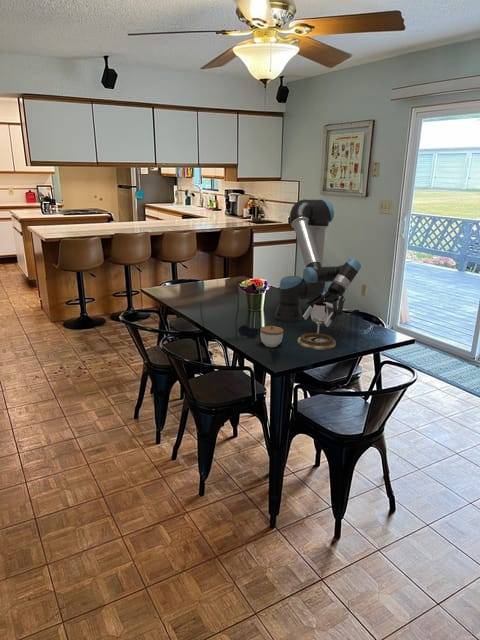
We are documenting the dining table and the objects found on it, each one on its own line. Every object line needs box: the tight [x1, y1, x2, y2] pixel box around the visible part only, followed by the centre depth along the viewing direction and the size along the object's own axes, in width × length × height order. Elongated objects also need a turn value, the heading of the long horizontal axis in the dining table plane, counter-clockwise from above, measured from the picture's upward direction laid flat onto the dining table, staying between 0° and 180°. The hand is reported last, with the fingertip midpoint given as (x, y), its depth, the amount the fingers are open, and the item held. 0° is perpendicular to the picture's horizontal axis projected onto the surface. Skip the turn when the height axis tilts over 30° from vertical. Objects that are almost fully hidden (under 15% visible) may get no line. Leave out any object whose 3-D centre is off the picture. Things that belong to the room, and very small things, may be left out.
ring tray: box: [297, 332, 337, 351], centre depth 227 cm, size 18×18×3 cm
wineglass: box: [310, 302, 329, 342], centre depth 224 cm, size 8×8×18 cm
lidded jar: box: [260, 325, 284, 348], centre depth 222 cm, size 11×11×9 cm
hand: (314, 321), depth 223 cm, fingers open, 13 cm apart
